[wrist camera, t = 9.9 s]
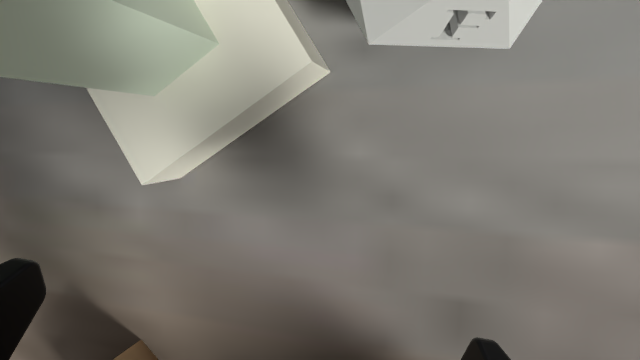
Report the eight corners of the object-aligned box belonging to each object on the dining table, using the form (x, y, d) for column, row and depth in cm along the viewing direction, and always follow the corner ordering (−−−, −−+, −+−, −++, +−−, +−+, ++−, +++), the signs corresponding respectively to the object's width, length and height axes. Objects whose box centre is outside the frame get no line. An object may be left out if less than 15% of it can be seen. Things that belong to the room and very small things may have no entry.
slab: (330, 72, 19) (312, 61, 16) (180, 178, 22) (142, 185, 19) (224, -103, 19) (187, -144, 17) (91, 24, 22) (40, 8, 19)
